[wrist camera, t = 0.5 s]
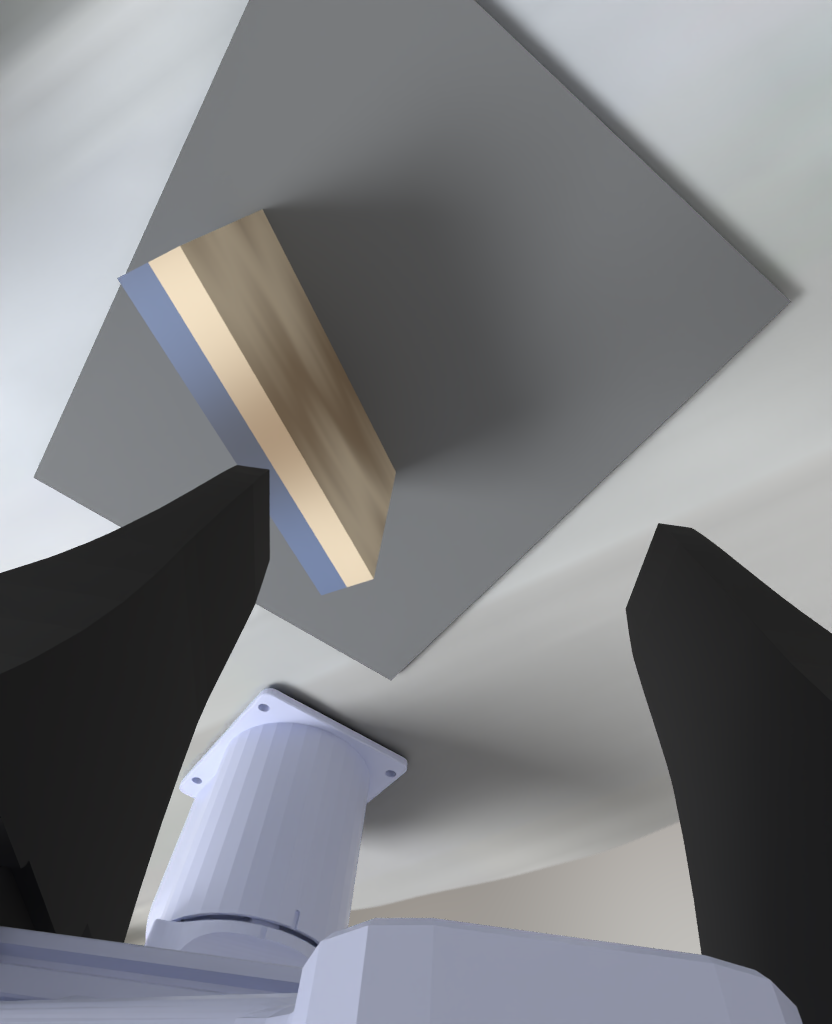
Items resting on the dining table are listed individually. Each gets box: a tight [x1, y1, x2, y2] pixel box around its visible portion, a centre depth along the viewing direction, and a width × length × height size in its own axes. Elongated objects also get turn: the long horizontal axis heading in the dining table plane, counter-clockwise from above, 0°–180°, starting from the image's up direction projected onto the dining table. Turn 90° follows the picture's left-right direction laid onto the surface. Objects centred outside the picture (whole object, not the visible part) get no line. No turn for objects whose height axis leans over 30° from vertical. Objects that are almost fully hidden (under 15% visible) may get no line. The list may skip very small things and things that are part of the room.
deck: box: [117, 209, 396, 595], centre depth 18 cm, size 9×2×6 cm, turn 24°
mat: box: [34, 0, 791, 680], centre depth 21 cm, size 20×16×1 cm
